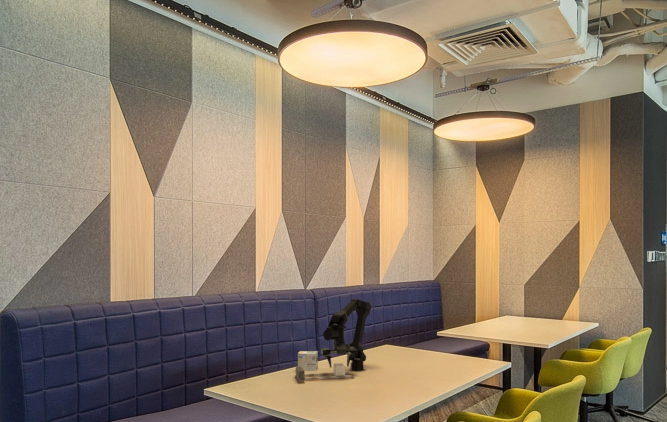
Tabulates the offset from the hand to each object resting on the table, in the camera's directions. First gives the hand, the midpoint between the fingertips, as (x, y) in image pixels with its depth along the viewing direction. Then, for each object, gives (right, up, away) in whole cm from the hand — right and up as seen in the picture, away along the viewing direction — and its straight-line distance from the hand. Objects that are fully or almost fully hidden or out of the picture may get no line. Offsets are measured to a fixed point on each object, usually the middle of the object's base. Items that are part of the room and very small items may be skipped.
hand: (339, 367), depth 276 cm
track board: (-8, -5, -2) cm, 10 cm away
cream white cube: (0, -4, 0) cm, 5 cm away
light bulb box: (-17, -7, +15) cm, 24 cm away
